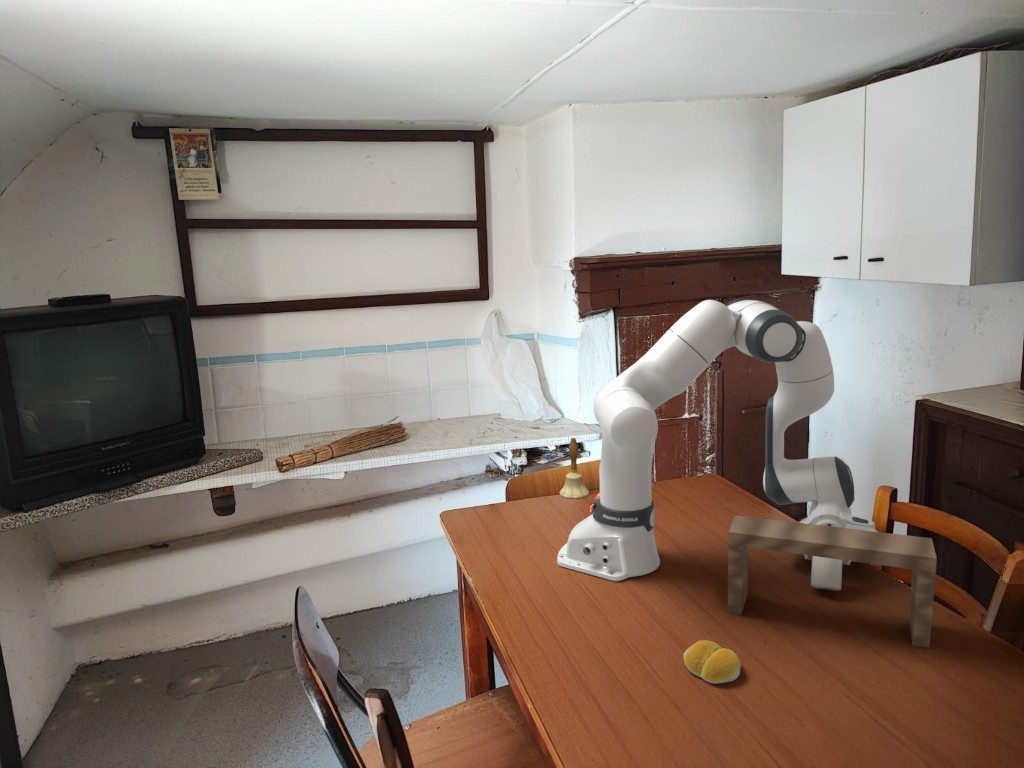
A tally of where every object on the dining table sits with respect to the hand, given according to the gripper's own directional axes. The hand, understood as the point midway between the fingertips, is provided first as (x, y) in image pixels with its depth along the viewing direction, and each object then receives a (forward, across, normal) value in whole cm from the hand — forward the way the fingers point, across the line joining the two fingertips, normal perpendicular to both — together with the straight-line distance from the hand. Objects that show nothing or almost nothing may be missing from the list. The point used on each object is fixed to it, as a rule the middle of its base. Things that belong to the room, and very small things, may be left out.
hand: (827, 558), depth 139 cm
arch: (+12, 0, +6) cm, 14 cm away
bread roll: (+34, -16, +6) cm, 39 cm away
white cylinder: (+3, 0, +4) cm, 6 cm away
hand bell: (-32, -65, +6) cm, 73 cm away
